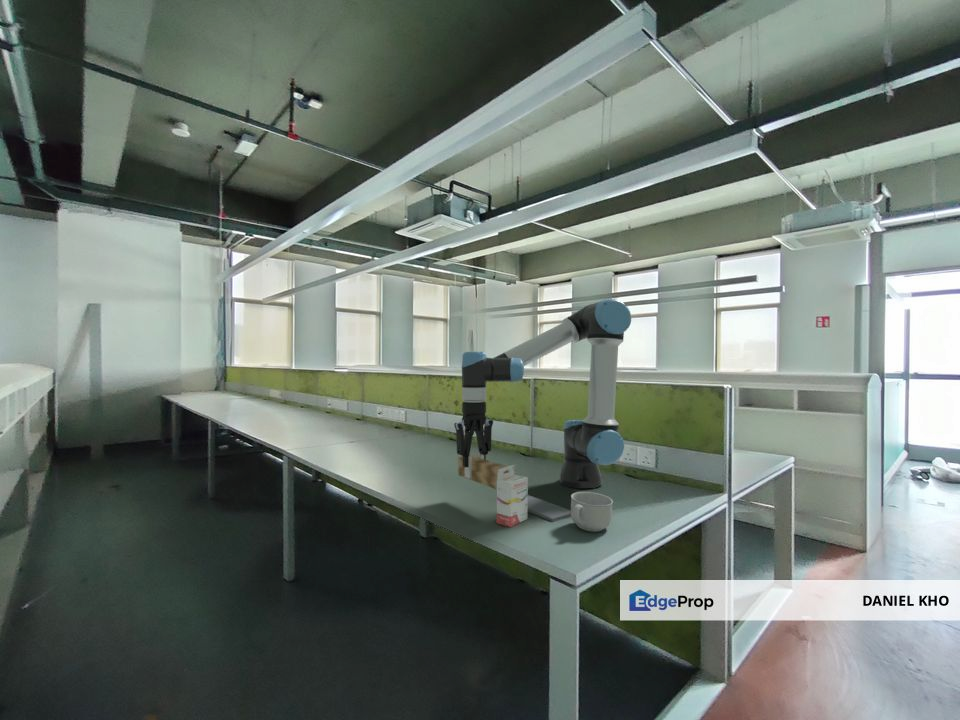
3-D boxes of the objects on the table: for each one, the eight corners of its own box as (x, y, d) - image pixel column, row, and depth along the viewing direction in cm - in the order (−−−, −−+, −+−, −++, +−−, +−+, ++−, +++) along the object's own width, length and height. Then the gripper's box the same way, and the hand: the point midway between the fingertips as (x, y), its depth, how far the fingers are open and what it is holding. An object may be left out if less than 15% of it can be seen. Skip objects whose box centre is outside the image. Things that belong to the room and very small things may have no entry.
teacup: (588, 517, 119) (588, 488, 119) (621, 529, 110) (621, 498, 110) (554, 528, 110) (554, 498, 110) (587, 542, 102) (587, 509, 102)
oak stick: (458, 475, 134) (458, 456, 134) (468, 473, 136) (468, 454, 137) (497, 489, 118) (497, 468, 118) (508, 487, 120) (508, 466, 120)
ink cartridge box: (511, 528, 111) (510, 472, 111) (496, 523, 114) (495, 469, 114) (528, 518, 117) (528, 466, 118) (514, 514, 121) (513, 463, 121)
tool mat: (522, 495, 138) (522, 493, 138) (574, 514, 121) (574, 511, 121) (501, 500, 133) (501, 498, 133) (552, 521, 115) (552, 518, 115)
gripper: (488, 398, 139) (488, 469, 138) (444, 401, 129) (444, 478, 128) (502, 400, 133) (503, 474, 132) (457, 403, 123) (457, 483, 122)
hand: (474, 476), depth 130 cm, fingers closed on oak stick, 4 cm apart
